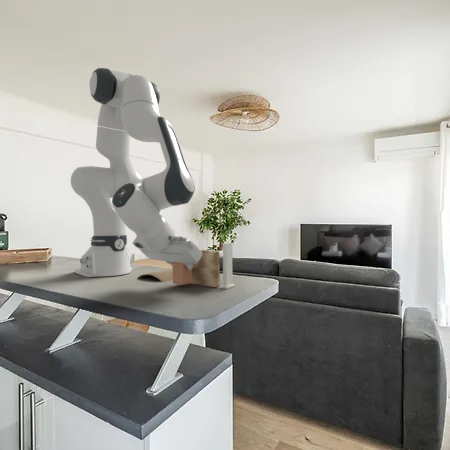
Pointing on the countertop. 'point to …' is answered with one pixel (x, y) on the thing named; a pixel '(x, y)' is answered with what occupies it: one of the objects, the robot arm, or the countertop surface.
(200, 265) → the oak door
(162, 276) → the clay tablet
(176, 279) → the block
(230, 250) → the wall post
